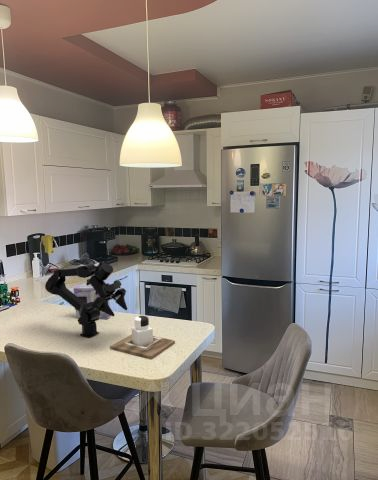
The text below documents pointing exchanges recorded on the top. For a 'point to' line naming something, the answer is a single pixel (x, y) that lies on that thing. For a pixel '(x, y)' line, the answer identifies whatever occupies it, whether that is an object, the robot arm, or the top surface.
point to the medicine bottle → (142, 332)
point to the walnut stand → (145, 351)
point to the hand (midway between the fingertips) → (120, 312)
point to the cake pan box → (88, 298)
